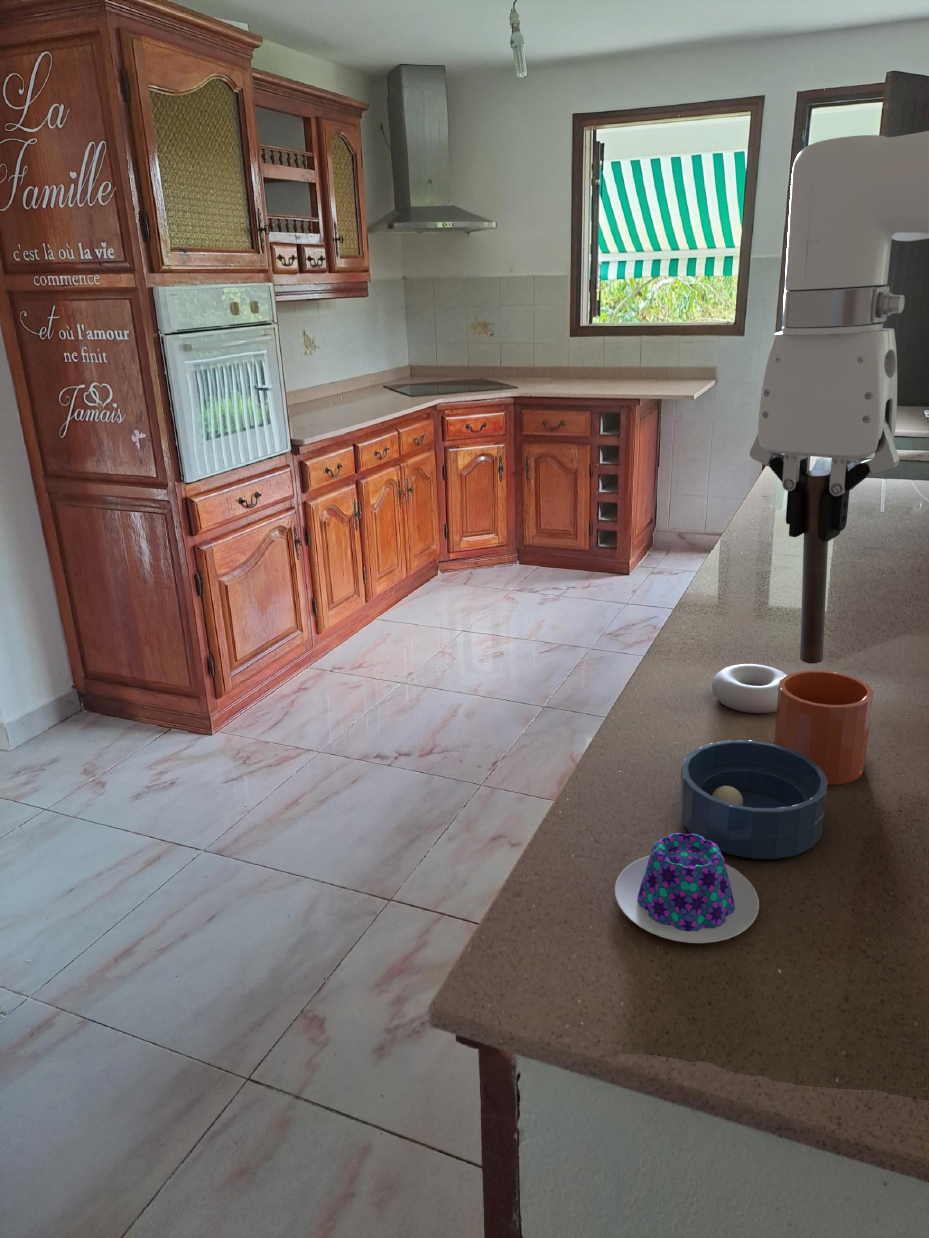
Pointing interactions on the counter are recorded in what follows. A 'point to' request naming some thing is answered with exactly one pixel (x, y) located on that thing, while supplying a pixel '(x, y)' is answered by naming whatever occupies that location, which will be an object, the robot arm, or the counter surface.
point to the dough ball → (728, 795)
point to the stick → (813, 569)
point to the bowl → (754, 798)
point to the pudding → (687, 892)
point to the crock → (825, 721)
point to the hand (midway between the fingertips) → (814, 534)
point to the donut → (748, 687)
